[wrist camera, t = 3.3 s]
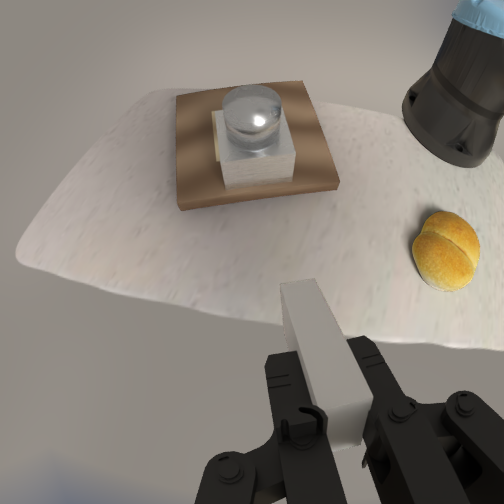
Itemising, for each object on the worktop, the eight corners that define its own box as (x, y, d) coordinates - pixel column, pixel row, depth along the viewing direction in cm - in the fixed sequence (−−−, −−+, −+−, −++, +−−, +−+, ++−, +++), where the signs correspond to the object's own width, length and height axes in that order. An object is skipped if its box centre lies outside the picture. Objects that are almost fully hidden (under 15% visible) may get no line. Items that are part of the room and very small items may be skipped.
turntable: (336, 189, 31) (340, 181, 30) (180, 211, 31) (177, 203, 29) (301, 89, 37) (302, 80, 35) (179, 104, 36) (176, 95, 35)
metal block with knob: (291, 181, 30) (299, 125, 22) (225, 190, 30) (215, 135, 22) (279, 132, 32) (282, 76, 24) (219, 140, 32) (210, 84, 24)
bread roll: (398, 264, 30) (414, 250, 26) (430, 208, 32) (446, 191, 28) (452, 310, 28) (472, 302, 24) (478, 250, 30) (497, 237, 26)
